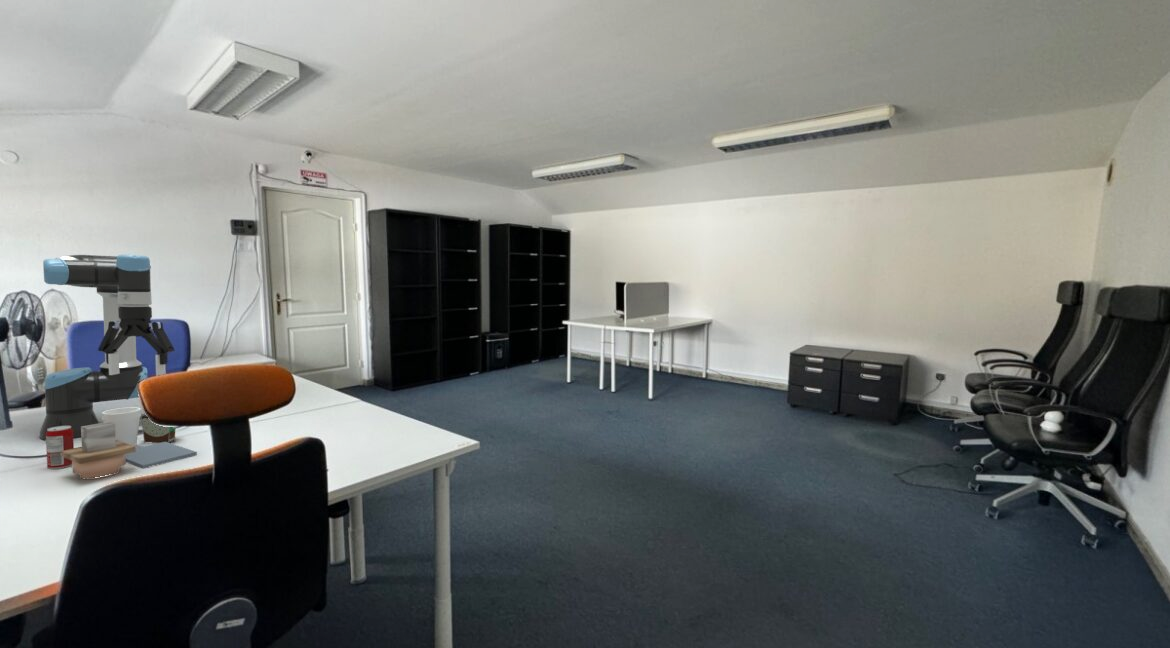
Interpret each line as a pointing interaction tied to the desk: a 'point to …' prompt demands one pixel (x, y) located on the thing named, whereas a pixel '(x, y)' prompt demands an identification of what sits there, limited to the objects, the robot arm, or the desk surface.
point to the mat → (157, 454)
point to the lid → (98, 444)
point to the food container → (156, 431)
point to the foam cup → (124, 423)
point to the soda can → (58, 446)
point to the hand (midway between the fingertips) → (137, 374)
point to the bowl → (99, 467)
